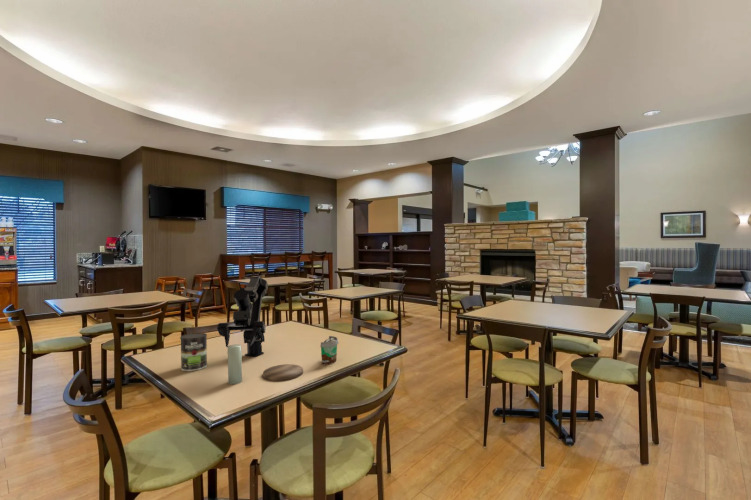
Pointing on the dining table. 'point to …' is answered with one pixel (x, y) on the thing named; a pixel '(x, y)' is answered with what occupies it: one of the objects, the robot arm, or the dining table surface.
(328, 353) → the food container
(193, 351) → the coffee can
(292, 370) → the disc
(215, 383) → the dining table surface
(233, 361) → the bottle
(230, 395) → the dining table surface
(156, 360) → the dining table surface
